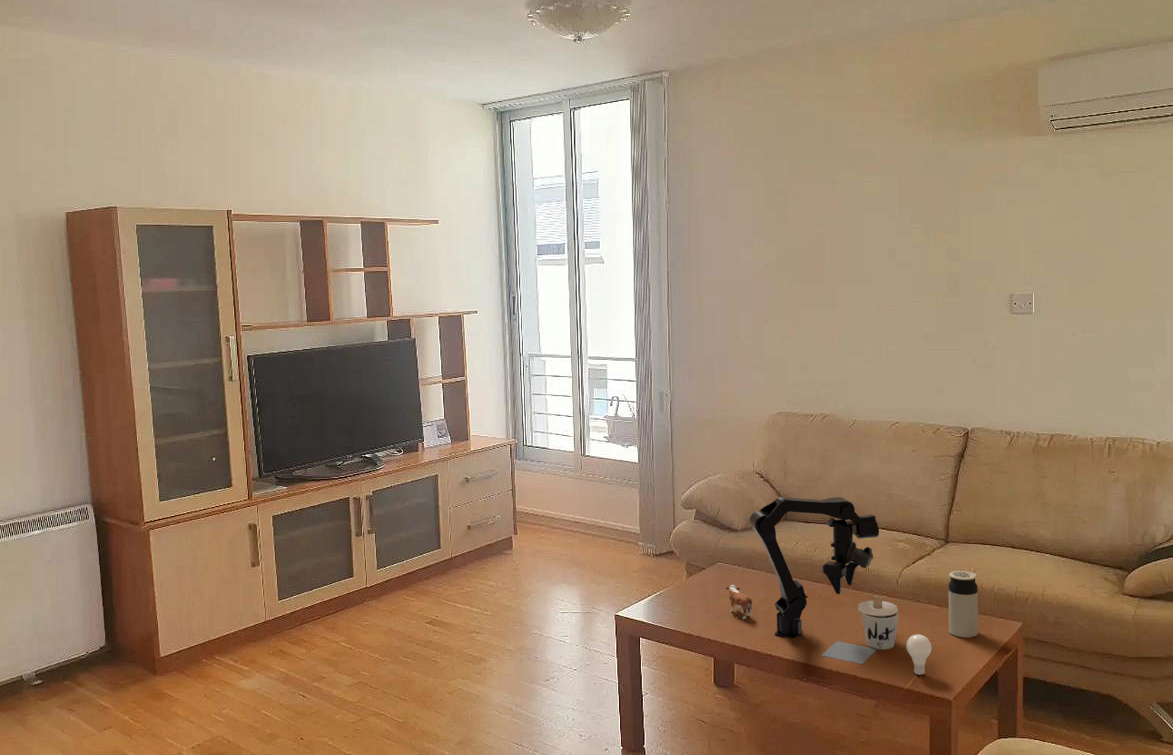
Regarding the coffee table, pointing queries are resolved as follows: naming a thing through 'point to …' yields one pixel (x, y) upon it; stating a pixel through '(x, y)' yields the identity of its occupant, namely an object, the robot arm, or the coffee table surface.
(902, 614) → the coffee table surface
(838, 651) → the mat
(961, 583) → the travel mug
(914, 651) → the lightbulb
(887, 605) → the lid
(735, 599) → the bull figurine
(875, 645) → the mug
